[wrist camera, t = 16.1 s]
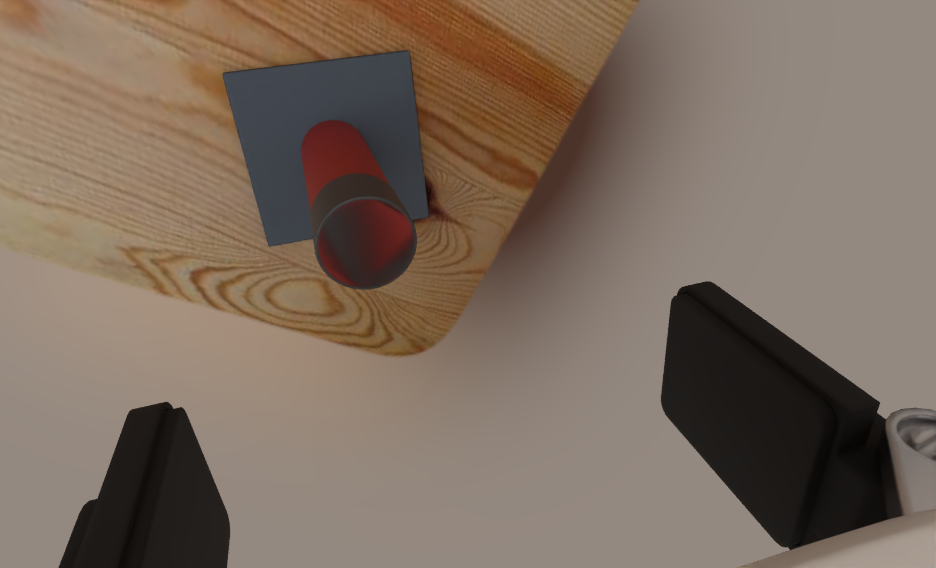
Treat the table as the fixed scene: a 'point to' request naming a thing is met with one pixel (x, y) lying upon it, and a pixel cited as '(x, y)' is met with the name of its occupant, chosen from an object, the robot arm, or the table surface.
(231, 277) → the table surface
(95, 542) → the robot arm
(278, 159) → the desk pad
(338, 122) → the marker pen
